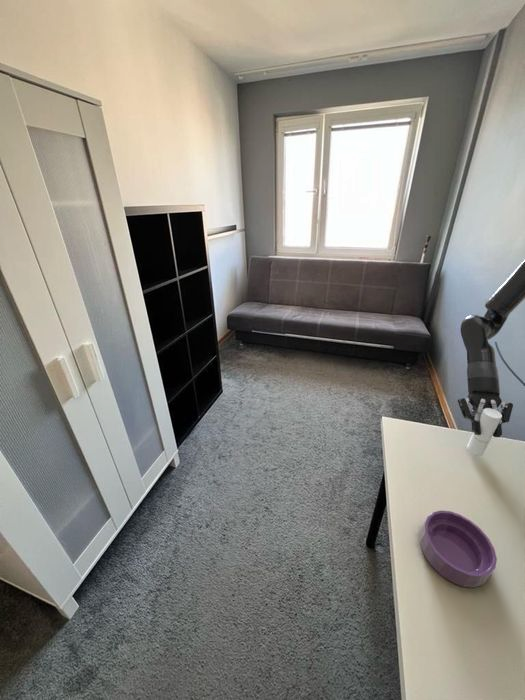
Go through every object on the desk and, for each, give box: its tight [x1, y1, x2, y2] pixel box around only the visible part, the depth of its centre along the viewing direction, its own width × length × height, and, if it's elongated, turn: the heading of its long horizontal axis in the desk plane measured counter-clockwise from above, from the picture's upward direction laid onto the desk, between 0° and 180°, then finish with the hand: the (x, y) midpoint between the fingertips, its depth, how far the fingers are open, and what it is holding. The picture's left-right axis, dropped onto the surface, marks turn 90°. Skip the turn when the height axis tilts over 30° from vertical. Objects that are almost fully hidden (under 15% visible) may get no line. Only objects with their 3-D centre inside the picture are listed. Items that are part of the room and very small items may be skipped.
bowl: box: [419, 509, 498, 589], centre depth 62 cm, size 13×13×6 cm
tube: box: [466, 408, 502, 457], centre depth 83 cm, size 4×4×15 cm
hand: (487, 435), depth 81 cm, fingers closed on tube, 4 cm apart
